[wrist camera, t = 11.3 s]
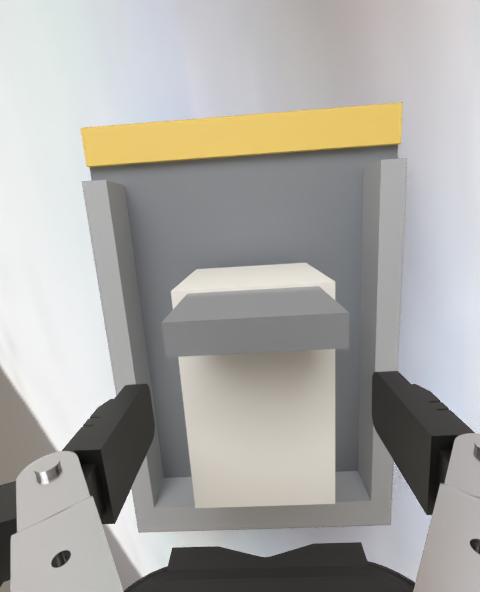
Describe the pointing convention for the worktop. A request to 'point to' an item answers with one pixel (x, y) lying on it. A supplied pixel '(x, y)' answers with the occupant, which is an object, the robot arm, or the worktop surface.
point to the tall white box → (258, 382)
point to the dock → (251, 252)
